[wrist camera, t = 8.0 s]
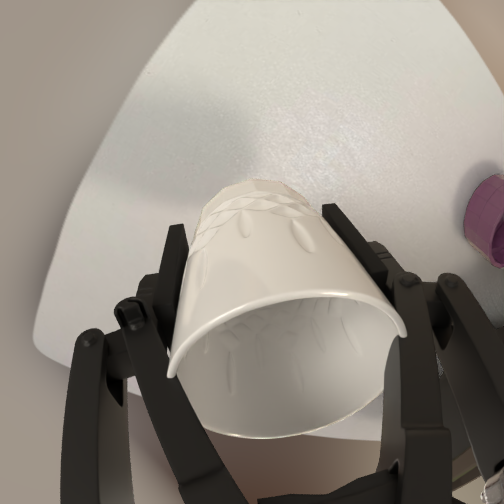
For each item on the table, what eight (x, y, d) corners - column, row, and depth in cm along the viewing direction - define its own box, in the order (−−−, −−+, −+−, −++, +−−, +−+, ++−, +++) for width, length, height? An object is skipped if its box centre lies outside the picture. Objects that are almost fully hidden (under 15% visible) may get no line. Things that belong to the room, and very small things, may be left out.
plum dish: (468, 172, 26) (501, 192, 22) (516, 172, 26) (546, 189, 22) (453, 249, 31) (479, 274, 26) (501, 239, 31) (525, 260, 27)
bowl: (540, 325, 46) (585, 387, 29) (421, 424, 57) (451, 494, 40) (527, 227, 31) (622, 318, 14) (342, 391, 42) (383, 513, 25)
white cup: (161, 257, 18) (132, 411, 10) (234, 137, 15) (264, 236, 6) (272, 307, 21) (304, 447, 12) (350, 214, 18) (445, 339, 9)
